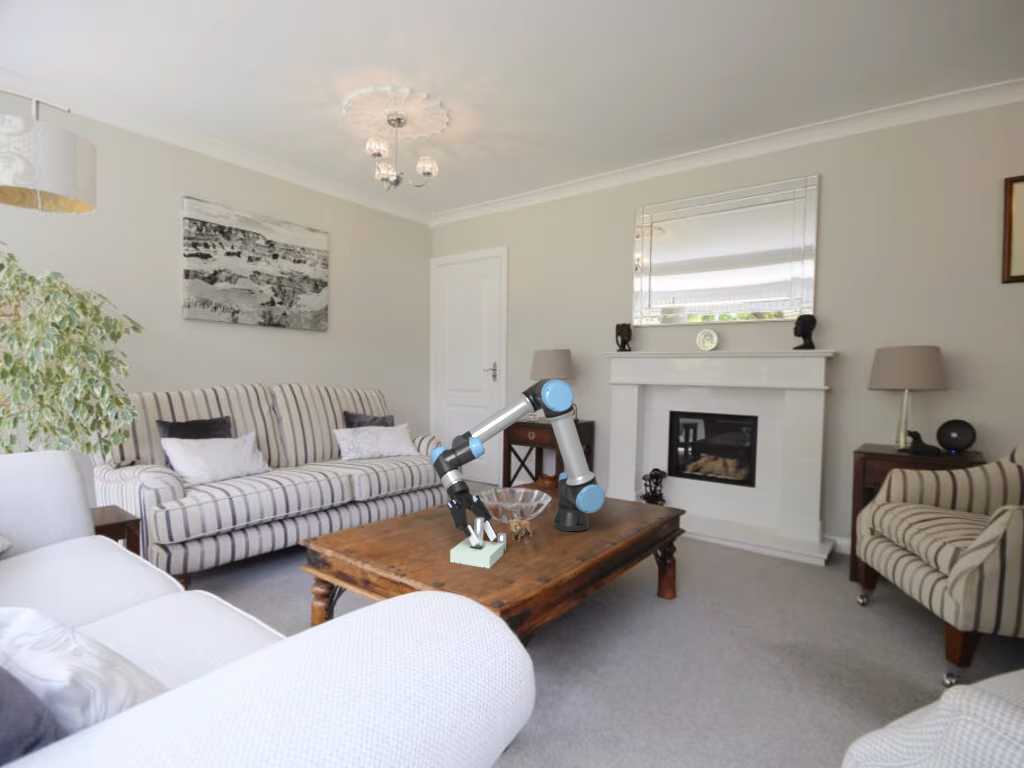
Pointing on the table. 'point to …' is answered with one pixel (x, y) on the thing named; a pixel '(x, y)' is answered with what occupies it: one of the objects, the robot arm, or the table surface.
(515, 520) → the lion figurine
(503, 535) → the short peg
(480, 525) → the tall peg
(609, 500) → the table surface
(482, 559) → the socket block
